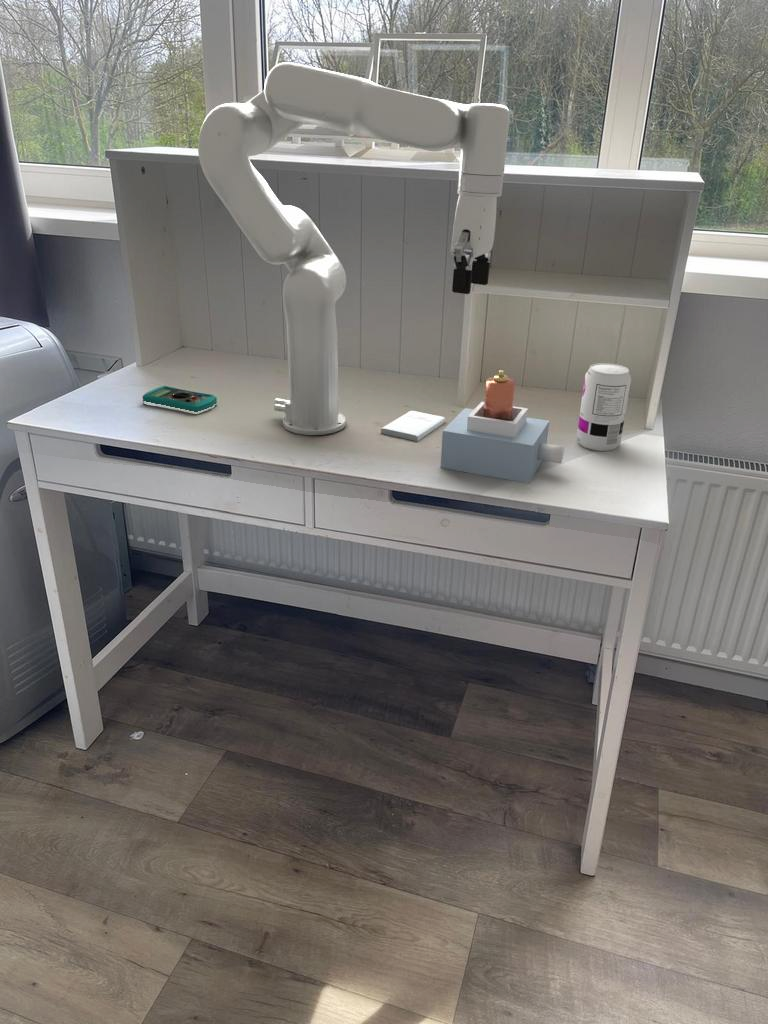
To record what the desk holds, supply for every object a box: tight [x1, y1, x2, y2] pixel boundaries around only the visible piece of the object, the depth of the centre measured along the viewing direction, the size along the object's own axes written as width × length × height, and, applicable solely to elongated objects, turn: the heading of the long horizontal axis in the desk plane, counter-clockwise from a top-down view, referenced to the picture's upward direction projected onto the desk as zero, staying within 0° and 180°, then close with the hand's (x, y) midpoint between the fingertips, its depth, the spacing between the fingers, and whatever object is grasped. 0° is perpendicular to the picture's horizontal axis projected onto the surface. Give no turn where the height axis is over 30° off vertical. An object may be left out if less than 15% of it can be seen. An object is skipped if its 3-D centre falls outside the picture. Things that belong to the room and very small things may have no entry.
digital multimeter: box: [142, 385, 218, 412], centre depth 166 cm, size 7×15×3 cm, turn 65°
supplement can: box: [576, 362, 632, 452], centre depth 147 cm, size 8×8×15 cm
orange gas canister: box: [483, 369, 516, 421], centre depth 137 cm, size 5×5×10 cm
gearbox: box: [440, 401, 565, 484], centre depth 139 cm, size 20×13×10 cm, turn 67°
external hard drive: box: [380, 410, 446, 442], centre depth 157 cm, size 2×8×12 cm
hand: (470, 288), depth 140 cm, fingers open, 9 cm apart
